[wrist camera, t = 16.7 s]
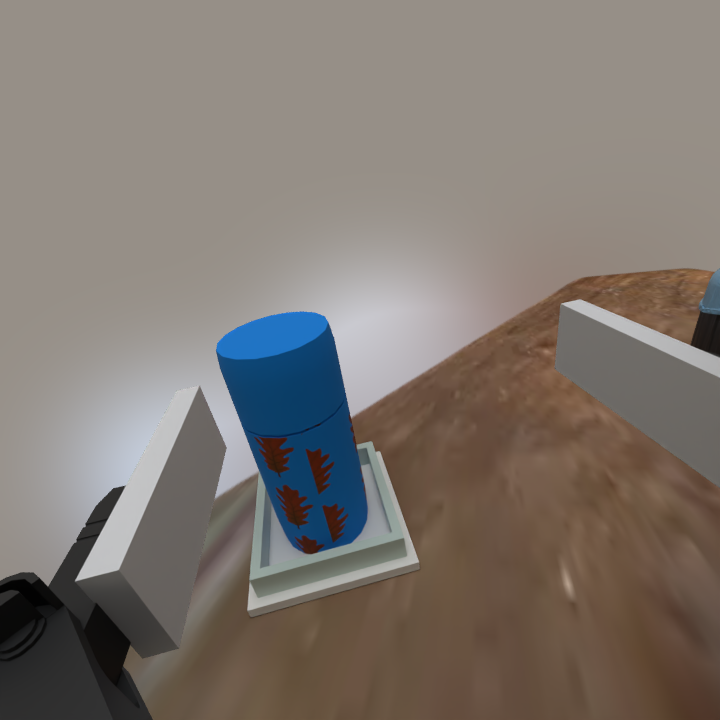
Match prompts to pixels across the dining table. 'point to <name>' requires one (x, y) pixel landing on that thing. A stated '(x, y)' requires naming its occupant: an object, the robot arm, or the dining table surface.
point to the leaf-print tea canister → (298, 426)
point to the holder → (334, 566)
